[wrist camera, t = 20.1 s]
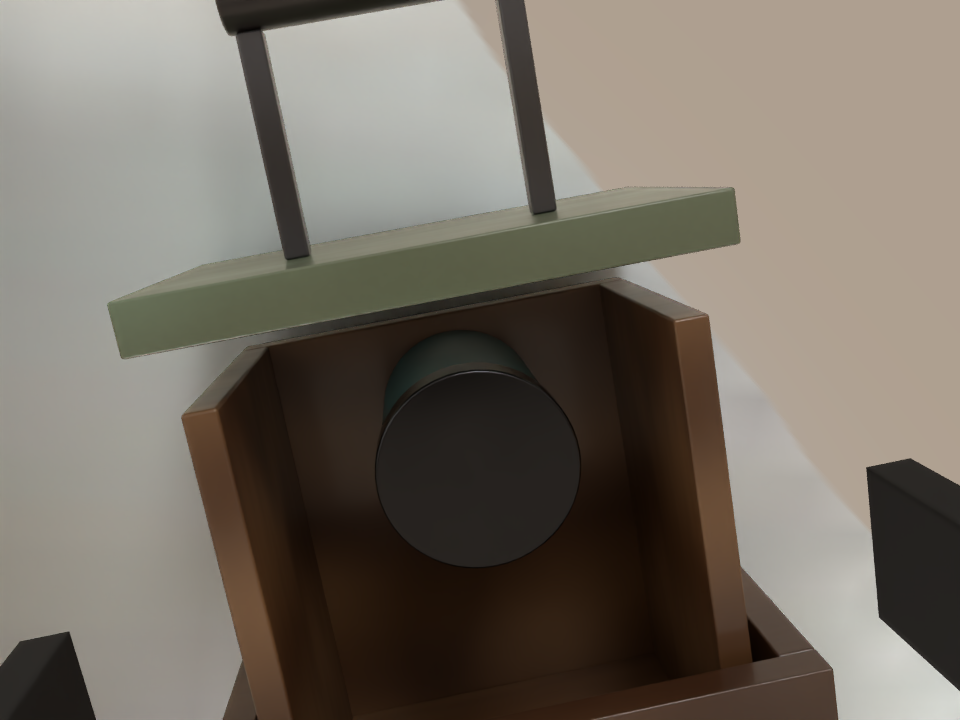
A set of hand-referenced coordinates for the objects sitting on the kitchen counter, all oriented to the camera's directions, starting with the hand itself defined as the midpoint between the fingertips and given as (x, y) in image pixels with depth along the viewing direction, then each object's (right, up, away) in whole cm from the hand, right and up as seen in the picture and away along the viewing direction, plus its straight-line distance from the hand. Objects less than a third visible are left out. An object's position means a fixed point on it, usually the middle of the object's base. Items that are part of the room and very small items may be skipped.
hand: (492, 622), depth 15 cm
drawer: (-1, +4, +13) cm, 14 cm away
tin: (-1, +3, +13) cm, 13 cm away
